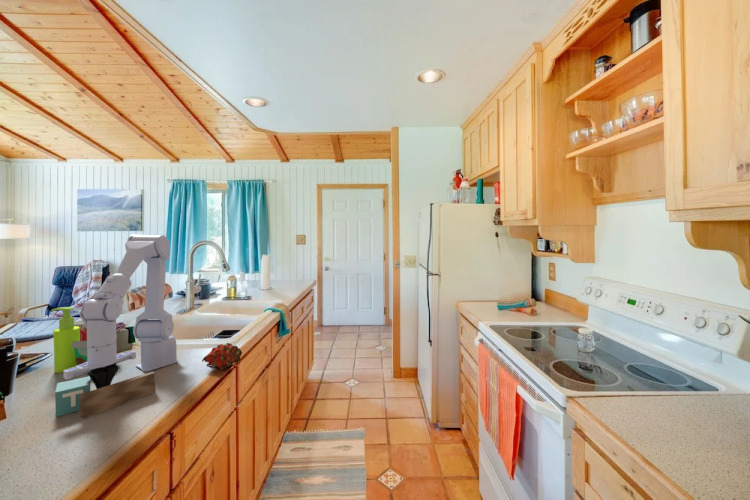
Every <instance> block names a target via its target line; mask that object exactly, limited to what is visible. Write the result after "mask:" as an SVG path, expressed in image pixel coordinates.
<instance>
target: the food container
mask: <svg viewBox="0 0 750 500" xmlns="http://www.w3.org/2000/svg"><path fill="white" fill-rule="evenodd" d="M117 339H118V334H117V333H116V340H117ZM71 348H74V353H75V359H76V366H78V365H80V364H83V363H85V362H87V340H84V341H73V343H72V346H71Z"/></svg>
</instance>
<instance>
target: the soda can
mask: <svg viewBox="0 0 750 500" xmlns="http://www.w3.org/2000/svg"><path fill="white" fill-rule="evenodd" d="M74 326H78V327H80V341H84V340H87V328H85V327H84V321H83V320H80V321H79V320H78V321H74Z"/></svg>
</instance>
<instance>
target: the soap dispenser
mask: <svg viewBox="0 0 750 500" xmlns="http://www.w3.org/2000/svg"><path fill="white" fill-rule="evenodd" d="M72 310H75V308H74V307H73V306H71V307H70V306H62V307H55V308H52V309H50V311H51V312H53V311H62V317H60V318H59V319H58V328H56V329H54V330H53V355H54V356H53V357H54V359H53V361H54V363H53V364H54V366H53V367H54V373H57V374H58V373H60V374H61V373H63V371H64V370H67V369H70V368H72V367H75V366H76V359H75V353H74V348H71V346H72V343H73V341H80V327H78V326H74V322H75V317H74V316H72V315H71V311H72Z"/></svg>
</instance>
